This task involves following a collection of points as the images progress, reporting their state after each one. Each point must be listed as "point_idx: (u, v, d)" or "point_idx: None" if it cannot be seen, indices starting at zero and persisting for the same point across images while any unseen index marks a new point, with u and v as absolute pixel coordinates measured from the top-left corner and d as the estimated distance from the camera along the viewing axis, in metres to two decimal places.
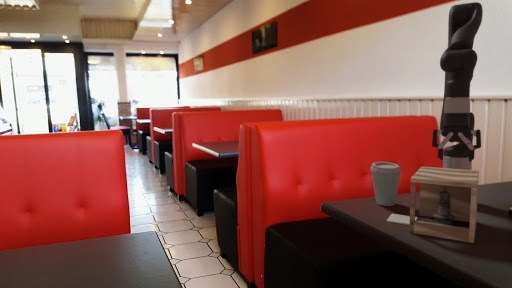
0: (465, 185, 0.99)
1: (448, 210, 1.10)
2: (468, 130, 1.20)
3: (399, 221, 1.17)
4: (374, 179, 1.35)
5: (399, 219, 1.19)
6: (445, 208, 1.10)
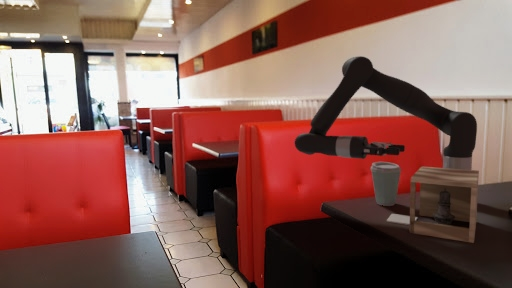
0: (465, 185, 0.99)
1: (448, 210, 1.10)
2: None
3: (399, 221, 1.17)
4: (374, 179, 1.35)
5: (399, 219, 1.19)
6: (445, 208, 1.10)
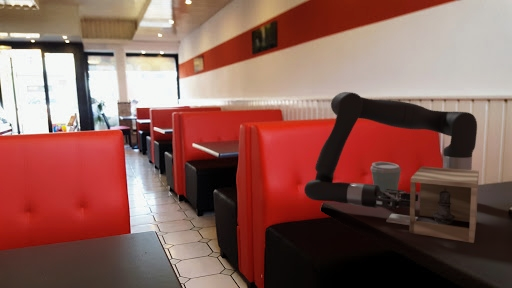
0: (465, 185, 0.99)
1: (448, 210, 1.10)
2: None
3: (399, 221, 1.17)
4: (374, 179, 1.35)
5: (399, 219, 1.19)
6: (445, 208, 1.10)
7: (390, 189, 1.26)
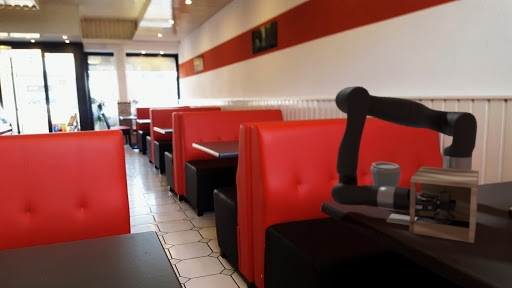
0: (465, 185, 0.99)
1: None
2: None
3: (399, 221, 1.17)
4: (374, 179, 1.35)
5: (399, 219, 1.19)
6: None
7: (426, 193, 1.19)
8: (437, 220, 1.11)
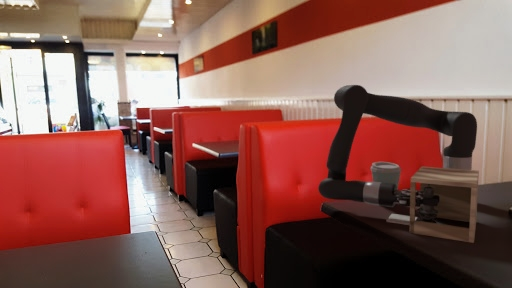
0: (465, 185, 0.99)
1: None
2: None
3: (399, 221, 1.17)
4: (374, 179, 1.35)
5: (399, 219, 1.19)
6: None
7: None
8: (421, 215, 1.13)
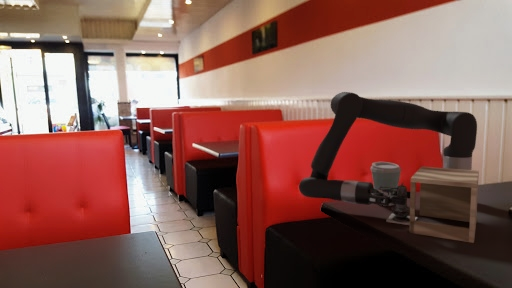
0: (465, 185, 0.99)
1: None
2: None
3: None
4: (374, 179, 1.35)
5: None
6: None
7: None
8: (395, 213, 1.17)
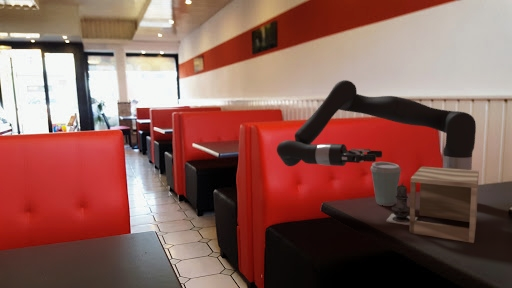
0: (465, 185, 0.99)
1: (405, 203, 1.16)
2: None
3: None
4: (374, 179, 1.35)
5: None
6: (402, 201, 1.16)
7: None
8: (395, 213, 1.17)
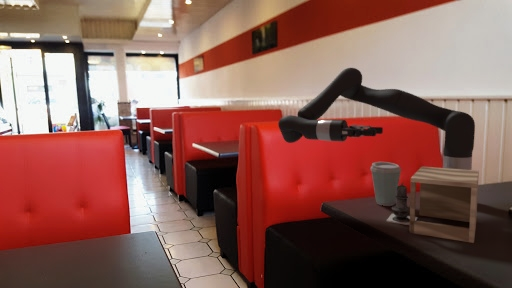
0: (465, 185, 0.99)
1: (405, 203, 1.16)
2: None
3: None
4: (374, 179, 1.35)
5: None
6: (402, 201, 1.16)
7: None
8: (395, 213, 1.17)
